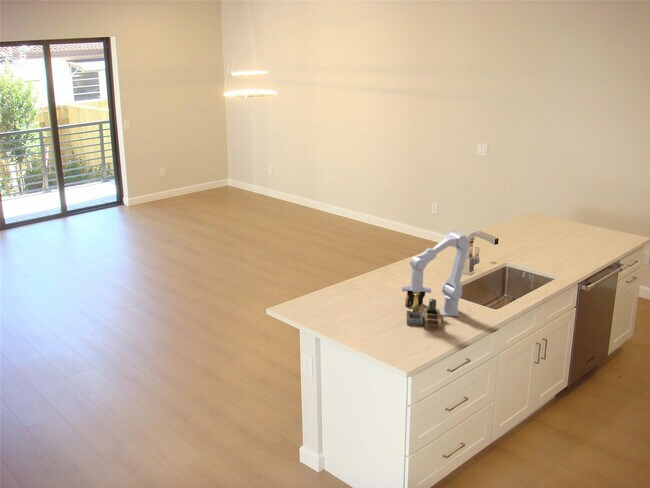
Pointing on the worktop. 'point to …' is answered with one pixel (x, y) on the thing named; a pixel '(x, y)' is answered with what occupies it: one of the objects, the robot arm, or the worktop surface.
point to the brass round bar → (415, 303)
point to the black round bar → (432, 306)
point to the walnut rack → (432, 320)
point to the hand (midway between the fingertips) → (415, 304)
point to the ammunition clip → (408, 303)
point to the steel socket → (414, 318)
